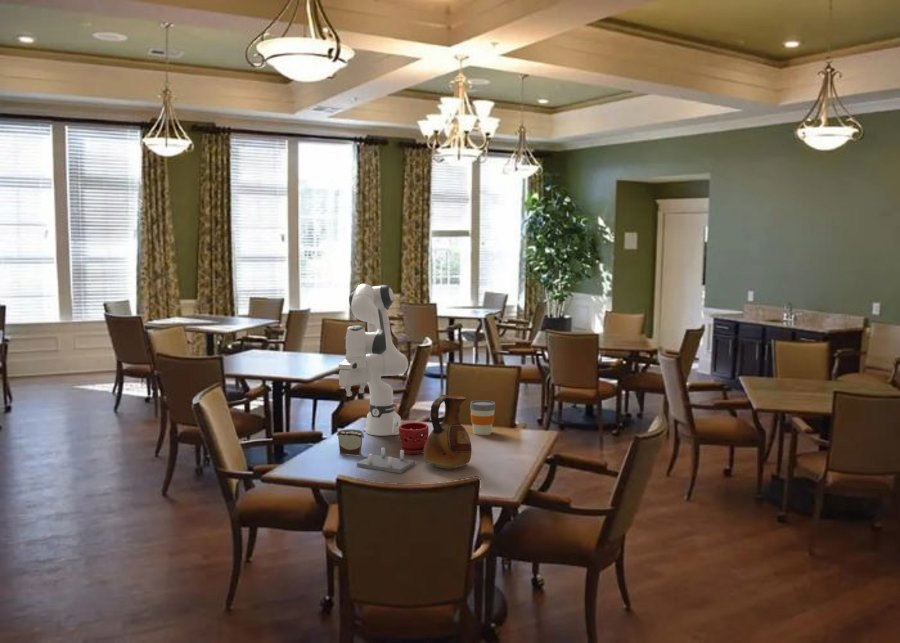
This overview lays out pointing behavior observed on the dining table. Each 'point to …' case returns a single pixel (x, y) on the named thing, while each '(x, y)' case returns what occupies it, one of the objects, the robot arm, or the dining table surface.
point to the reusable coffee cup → (482, 416)
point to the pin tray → (386, 462)
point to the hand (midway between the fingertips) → (355, 394)
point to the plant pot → (413, 437)
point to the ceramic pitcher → (447, 436)
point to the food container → (350, 441)
